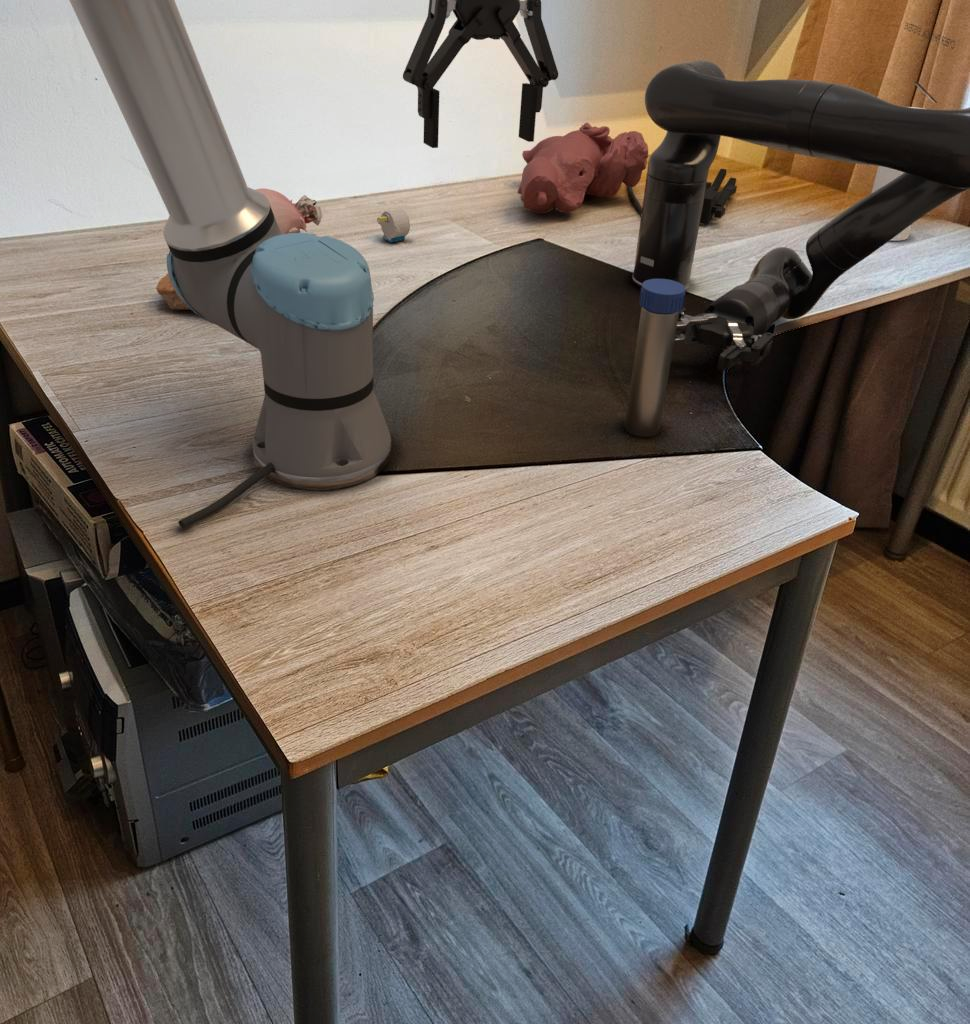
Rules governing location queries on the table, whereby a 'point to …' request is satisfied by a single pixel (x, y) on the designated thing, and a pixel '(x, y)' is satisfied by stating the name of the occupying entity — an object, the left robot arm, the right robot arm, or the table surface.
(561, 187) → the red clay animal figurine
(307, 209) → the toy
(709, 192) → the toy
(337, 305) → the left robot arm
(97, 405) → the table surface
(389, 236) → the electric motor
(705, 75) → the right robot arm
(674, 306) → the lid
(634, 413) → the grey metal cylinder
